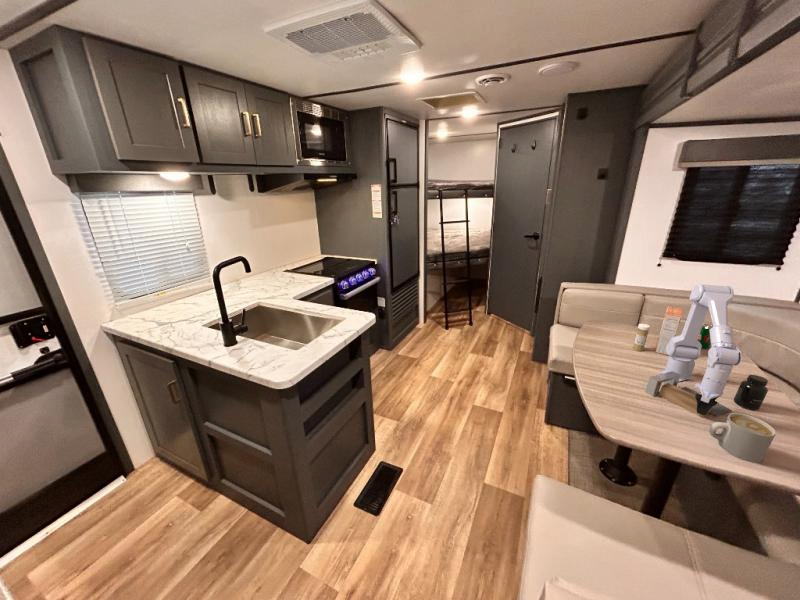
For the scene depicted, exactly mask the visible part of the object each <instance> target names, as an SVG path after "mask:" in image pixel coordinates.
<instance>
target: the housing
mask: <svg viewBox="0 0 800 600" xmlns="http://www.w3.org/2000/svg"><path fill="white" fill-rule="evenodd" d="M679 378H680V375H679V374H677V373H675V372H673V371H671V372H667V373H663V374H662V373H660V374H657V375H652V376H649V378H648V380H647V384H646V387H645V391H644V393H646V394H648V395H649V394H650V395H649V396H651V397H655V396H659V393H660V390H661V387H662V383H663V385H665V384H667V383H669V384H672V385H674V386H676V387H678V384H679V382H678V381H679Z"/></svg>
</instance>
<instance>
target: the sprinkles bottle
mask: <svg viewBox="0 0 800 600" xmlns="http://www.w3.org/2000/svg"><path fill="white" fill-rule="evenodd" d="M650 329H651V326H650V325H649V324H646V323H639V324H638V326H637V331H636V334H635V338H634V342H633V346H632V349H633V350H635V351H638V352H643V351H644V349H645V345H646V342H647V338H648V334H649V331H650Z"/></svg>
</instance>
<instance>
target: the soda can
mask: <svg viewBox="0 0 800 600" xmlns="http://www.w3.org/2000/svg"><path fill="white" fill-rule="evenodd" d="M712 327H713V324H711V323H703V324H702V327H701V329H700V332H699V335H698V337H697V340H698V341H699V342H700V343H701V345H702V348H701V349H704V350H706V349H710V348H711V347H710V346H711V339H710V331H709V330H710V329H711V328H712Z"/></svg>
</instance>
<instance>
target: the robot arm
mask: <svg viewBox="0 0 800 600" xmlns="http://www.w3.org/2000/svg"><path fill="white" fill-rule="evenodd" d="M734 293H735V292H734V289H733V287H732V286H729V285H725V286H724V285H715V284H714V285H713V284H712V285H711V284H703V283H698V284H696V285H694V286H693V288H692V289H691V292H690V295H689V301H691V302H692V304H691V306H690V309H689V312H688V314H687V317H686V321H685V322H684V326H683V329H682V331H681V334H680V335H676V336H675V337H672V338H671V339H670V341H669V343H668V344H667V347H666V352H667V354H668V355H669V356H668V355H667V356H668V359H667V362H666V365H665V369H662V370H660V371H659V370H658V373H660V374H663V373H667V372H671V371H673V372H675V373H677V374H679V375H680V378H679V381H678V383H680V382H683V381H686V380H691V379H693V378H694V376H693V375H692V374H693V371H694V368H695V365H696V362H695V361H696V360H698V359H699V358H700V357H701V354H702V349H703V348H702V345H701V343H700V342H699V341H698V340H697V339H698V337H699V334H700V331H701V328H702V326H703V325H704V321H705V319H706V316H707V313H708V311H709V315H710V318H711V323H712V325H713V327H712V328H711V329H710V330H709V331H710V339H711V344H710V346H711V347H709V349H708V351H707V360H706V364H707V367H706V370H705V372H704V374H703V378H702V380H701V381H700V383H699V382H696V384H695V385H694V386H695V388H698V389H699V391H700V393H699V392H697V394H696V395H695V398H696V400H697V413H699V414H702V415H705V414H706V413H707V412H708V411H709V409H710V408H711V407H713V406H715V405H716V404H717V403H719V402H718V401H717V399H719V398H720V397H722V396H723V395H724V390H725V387H726V385H727V382H728V380H729V377H730V375H731V372H732V371H733V367H734V366H739V365H740V363H741V361H742V359H743V358H742V352H741V349H739V347H738V345H736V343H735V335H734V330H733V328H731V327H730V326H729V324H728V323H729V321H728V313H729V312H728V310H729V309H728V306H729V305H730V304H731V302H732V301H733V298H734V296H735V294H734ZM698 393H699V394H698Z"/></svg>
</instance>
